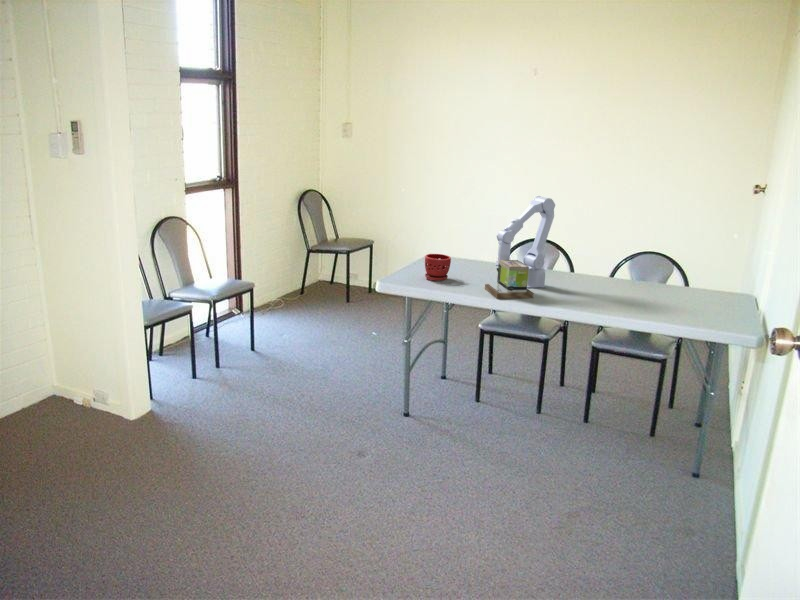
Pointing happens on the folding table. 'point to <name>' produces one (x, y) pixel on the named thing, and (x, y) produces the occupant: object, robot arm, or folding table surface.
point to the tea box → (512, 276)
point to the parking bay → (508, 293)
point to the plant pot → (437, 266)
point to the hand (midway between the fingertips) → (501, 282)
